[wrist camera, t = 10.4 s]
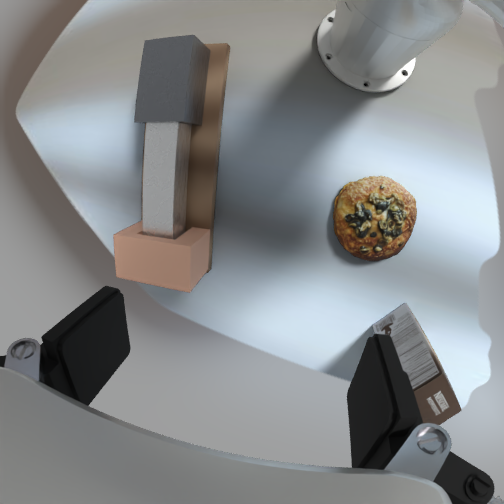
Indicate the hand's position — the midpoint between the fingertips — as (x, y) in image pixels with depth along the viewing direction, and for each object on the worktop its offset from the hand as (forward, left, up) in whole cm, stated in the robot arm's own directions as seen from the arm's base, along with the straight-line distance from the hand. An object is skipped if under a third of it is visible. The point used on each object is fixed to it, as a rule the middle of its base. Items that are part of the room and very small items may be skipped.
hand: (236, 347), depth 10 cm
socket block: (+7, -14, -27) cm, 31 cm away
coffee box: (+16, +20, -28) cm, 38 cm away
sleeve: (-14, -14, -27) cm, 33 cm away
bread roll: (0, +11, -29) cm, 31 cm away
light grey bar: (-2, -14, -26) cm, 29 cm away
